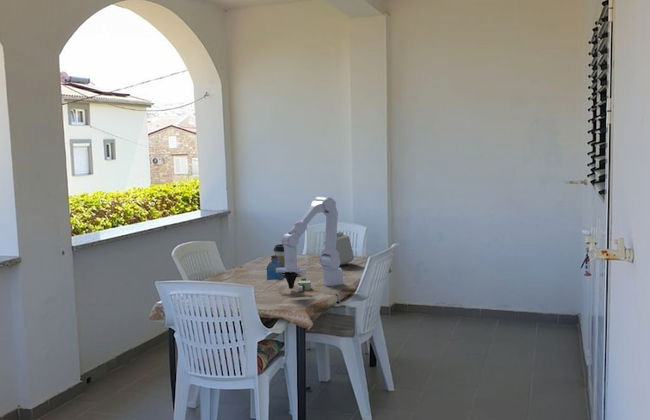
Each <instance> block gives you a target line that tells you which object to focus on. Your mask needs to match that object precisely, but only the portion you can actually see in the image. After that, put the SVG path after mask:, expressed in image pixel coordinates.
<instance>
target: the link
mask: <svg viewBox="0 0 650 420" xmlns="http://www.w3.org/2000/svg"><path fill="white" fill-rule="evenodd" d="M306 281H308V280H307V279H306ZM304 288H305V285H299V286H298V291H303V290H304Z"/></svg>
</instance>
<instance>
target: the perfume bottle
mask: <svg viewBox="0 0 650 420" xmlns="http://www.w3.org/2000/svg"><path fill="white" fill-rule="evenodd" d="M277 260H278V259H277V255H275V254H274V255H271V256H270V262H269V263H268V265H267V267H266V280H268V279H269V280H270V281H274V280H281V279H282V278H283V274H282V272H278V273H277V272H276V268H282V265H281V264H280V262H277Z"/></svg>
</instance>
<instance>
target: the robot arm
mask: <svg viewBox="0 0 650 420" xmlns="http://www.w3.org/2000/svg"><path fill="white" fill-rule="evenodd" d="M320 213H323V214H324V216H325V217H326V218H325V234H324V239H325V240H324V242H325V244H324V248H323V250H322V251H321V254H320V257H319V264H320V265H321V268H322V284H323V286H326V287H327V286H328V287H333V286H340V285H344V273H343V269H342V268H341V267H340V266H341V265H340V258H339V253H338V251H337V250H336V238H337V233H338V218H339V217H338V216H339V212H338V209H337V202H336V200H335V199H333V197H330V196H329V197H326V196H325V197H324V196H316V197H315V198H314V200H312V202H311V205H310V207H309V208H308V210H307V211H306V212H305V214H304V215H303V217H302V218H301V220H297V221H296V222H294V223H293V226H292V227H291V229H289V230H288V231H287V233H285V234H284V235H283V236H282V239H281V240H280V241H281V244H283V245H284V260H285V268H276V272H277V273H278V272H283V273H285V274H283V276H284V278H285V279H286V282H287V284H288V285H287V286H289V289H292V288H294V285H295V282H296V278H297V277H298V275H299V274H303V275H306V274H307V269H306V268H301V267H298V260H297V259H298V258H297V257H298V256H297V253H298V252H297V251H298V250H297V246H298V245H299V243H300V238H301V237H302V235H304V233H305V232H306V231H307V230H308V224H309V223H310V222H311V221H312V219H314V218H315V216H316V215H317V214H320Z"/></svg>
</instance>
